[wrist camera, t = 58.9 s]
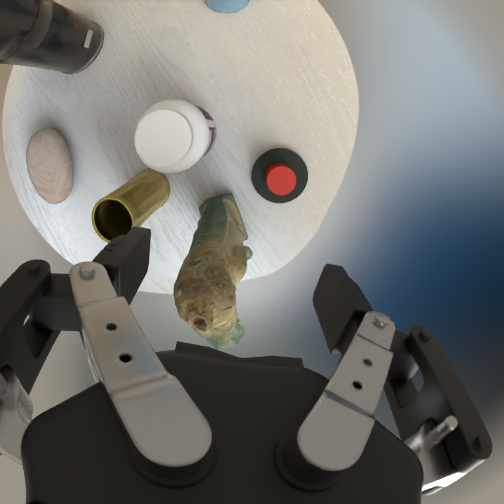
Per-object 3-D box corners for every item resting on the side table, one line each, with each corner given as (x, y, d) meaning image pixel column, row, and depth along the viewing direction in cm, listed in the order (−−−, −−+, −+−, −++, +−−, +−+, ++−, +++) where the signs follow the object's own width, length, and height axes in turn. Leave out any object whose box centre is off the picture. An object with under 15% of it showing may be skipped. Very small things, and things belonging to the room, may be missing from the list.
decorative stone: (87, 190, 38) (72, 199, 33) (50, 205, 38) (34, 214, 34) (70, 117, 32) (52, 118, 28) (33, 137, 33) (15, 141, 28)
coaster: (240, 176, 39) (240, 176, 38) (280, 136, 36) (280, 136, 36) (279, 212, 41) (279, 214, 41) (317, 176, 39) (319, 176, 39)
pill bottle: (153, 118, 34) (110, 117, 21) (206, 97, 34) (188, 81, 21) (172, 169, 38) (138, 192, 25) (224, 149, 37) (216, 162, 24)
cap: (287, 193, 40) (291, 198, 37) (261, 186, 39) (263, 191, 36) (295, 167, 38) (300, 171, 35) (269, 160, 37) (271, 162, 35)
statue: (217, 252, 44) (199, 382, 21) (191, 206, 40) (138, 311, 18) (257, 235, 43) (276, 359, 20) (233, 186, 39) (225, 275, 17)
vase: (147, 161, 37) (104, 180, 24) (178, 186, 39) (149, 217, 26) (125, 192, 39) (79, 225, 26) (154, 216, 41) (120, 259, 28)
